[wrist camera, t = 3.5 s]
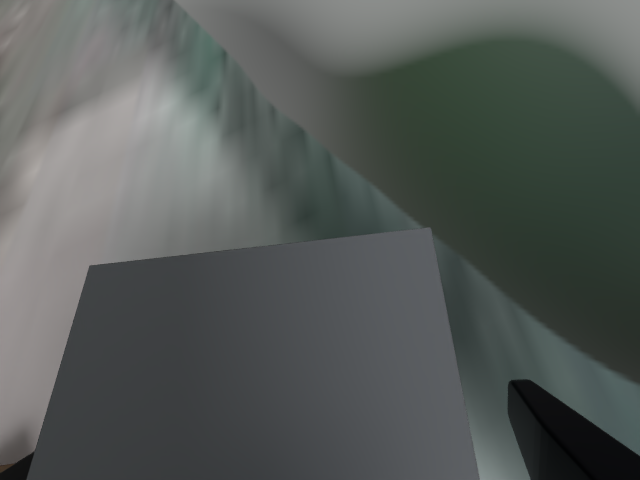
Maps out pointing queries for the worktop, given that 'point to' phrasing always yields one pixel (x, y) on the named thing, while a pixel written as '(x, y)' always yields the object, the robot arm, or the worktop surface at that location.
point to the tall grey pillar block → (262, 368)
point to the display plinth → (5, 467)
